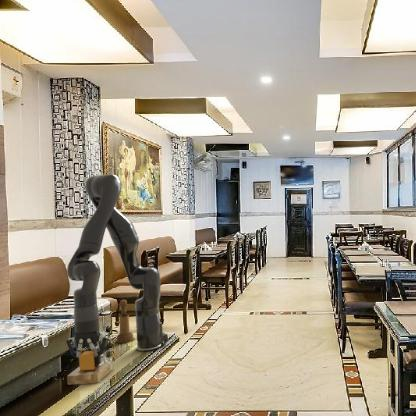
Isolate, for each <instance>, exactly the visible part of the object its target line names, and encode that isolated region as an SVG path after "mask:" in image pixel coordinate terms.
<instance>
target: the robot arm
mask: <svg viewBox="0 0 416 416" xmlns="http://www.w3.org/2000/svg"><path fill="white" fill-rule="evenodd" d="M122 185H123V184H122V181H121V179H120V178H119V176H117V175H115V174H112V173H107V174H96V175H91V176H89V177H87V180H86V181H85V190H86V191H85V192H86V194H87V196H88V197H89V199H90V201H91V203H92V204H93V206H94V207H95V211H94V212H93V213H92V215H91V217H90V218H89V219H88V221H87V222H86V223H85V225H84V227H83V229H82V231H81V235H80V239H79V241H78V247H77V248H76V250H75V251H74V253H73V255H72V256H71V259H70V261H69V263H68V264H67V267H66V268H67V269H66V275H67V277H68V279H69V280H71V281H72V282H73V281H74V282H82V285H81V287H79V288H76V289H75V290H74V291H73V322H74V323H73V324H74V337H70V338H68V339H67V340H65V343H66V345H67V348H68V350H69V354H70V356H71V357H76V358H77V366H78V367H80V364H79V356H80V355H81V354H82V353H84V352H85V349H86V348H89V349H90V351H93V353H94V356H95V357H94V364H95V367H98V366H99V364H100V363H101V362H102V360H101V359H102V357H101V356H102V355H103V354H105V352H107V348H108V343H109V339H110V336H109V335H108V334H107V335H103V334H101V331H100V316H99V307H98V306H99V305H98V297H97V296H98V295H97V294H98V293H97V292H98V291H97V290H98V286H99V282H100V278H101V268H100V265H99V264H98V262H97V261H95V260H90V259H91V257H94V256H97V255H98V254H100V251H101V248H102V245H103V241H104V237H105V232H106V229H107V232H108V234H109V237H110V239H111V241H112V244H113V246H114V247H115V249H116V251H117V253H118V255H119V258H120V260H121V262H122V265H123V268H124V271H125V274H126V277H127V280H128V282H129V285H130V286H131V287H132V288H133V289H134V290H137V291H143V296H142V297H140V298H137V299H136V300H135V302H134V306H135V326H136V328H135V329H136V341H137V342H136V346H137V348H136V350H138V351H139V352H149V351H154V350H157V349H159V348H161V347H163V346H164V344H166V343H167V342H168V340H169V337H168V336H169V335H168V333H164V332H163V323H162V322H161V313H160V299H161V275H160V271H159V270H158V268H156V267H143V266H142V265H141V262H140V261H139V258H138V249H139V244H140V238H139V234H138V233H137V230H136V227H135V226H134V224H133V222H132V221H131V220H130V219H129V218H128V217H127V216H126V215H125V214H124V213H122V212H121V211H120V210H119V209H118V208H117V207H116V205H117V202H118V200H119V198H120V196H121V192H122V187H123V186H122ZM99 340H100V344H99ZM76 343H77V344H78V346H77V345H76Z"/></svg>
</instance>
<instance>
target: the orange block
mask: <svg viewBox="0 0 416 416" xmlns="http://www.w3.org/2000/svg"><path fill="white" fill-rule="evenodd" d="M94 357H95V356H94V353H93V351H92V350H86V351H85V350H84V353H82V354H81V355H80V356H79V364H80V370H93V369H94V368H95V364H94Z"/></svg>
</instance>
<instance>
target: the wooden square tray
mask: <svg viewBox="0 0 416 416" xmlns="http://www.w3.org/2000/svg"><path fill="white" fill-rule="evenodd" d="M110 372H111V362H102V363H100V364H99V366H98V367H95V368H94V369H93V370H80V367H79V366H78V367H77V368H76V369H74V370H73V371H71V372H70V373H69V374H67V376H66V378H67V379H66V380H67V381H66V382H67V385H68V386H69V385H87V384H99V383H100V382H101V381H102V380H103V379H104V378H105V377H106V376H107V375H108V374H110Z"/></svg>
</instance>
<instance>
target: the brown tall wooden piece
mask: <svg viewBox="0 0 416 416" xmlns="http://www.w3.org/2000/svg"><path fill="white" fill-rule="evenodd" d="M127 305H128V301H127V300H126V299H121V300H120V301H119V306H120V307H121V310H120V313H121V314H120V315H119V316H118V320H119V334H118V335H117V336H116V342H117V344H118V343H119V344H126V343H130V342H132V341H133V340H134V334H133V333H132V332H130V315H129V314H128V313H127V309H126V307H127Z"/></svg>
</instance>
